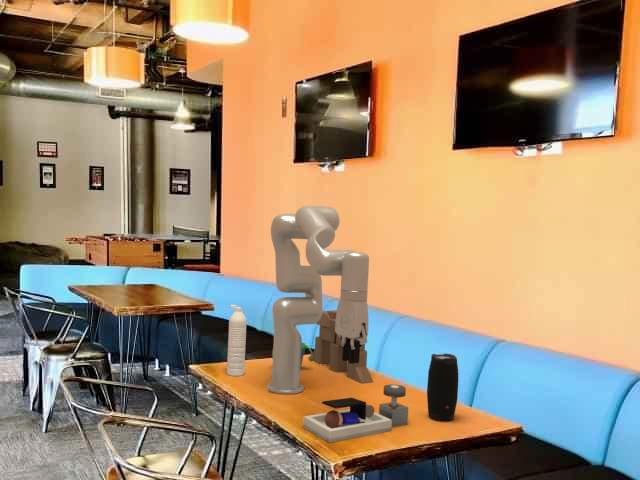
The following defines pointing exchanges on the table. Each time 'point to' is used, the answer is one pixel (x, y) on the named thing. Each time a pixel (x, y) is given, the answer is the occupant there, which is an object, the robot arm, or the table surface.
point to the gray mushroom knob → (394, 393)
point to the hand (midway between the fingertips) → (350, 361)
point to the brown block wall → (337, 351)
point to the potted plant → (302, 352)
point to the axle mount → (394, 413)
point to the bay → (346, 427)
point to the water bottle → (236, 343)
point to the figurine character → (354, 416)
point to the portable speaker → (442, 387)
